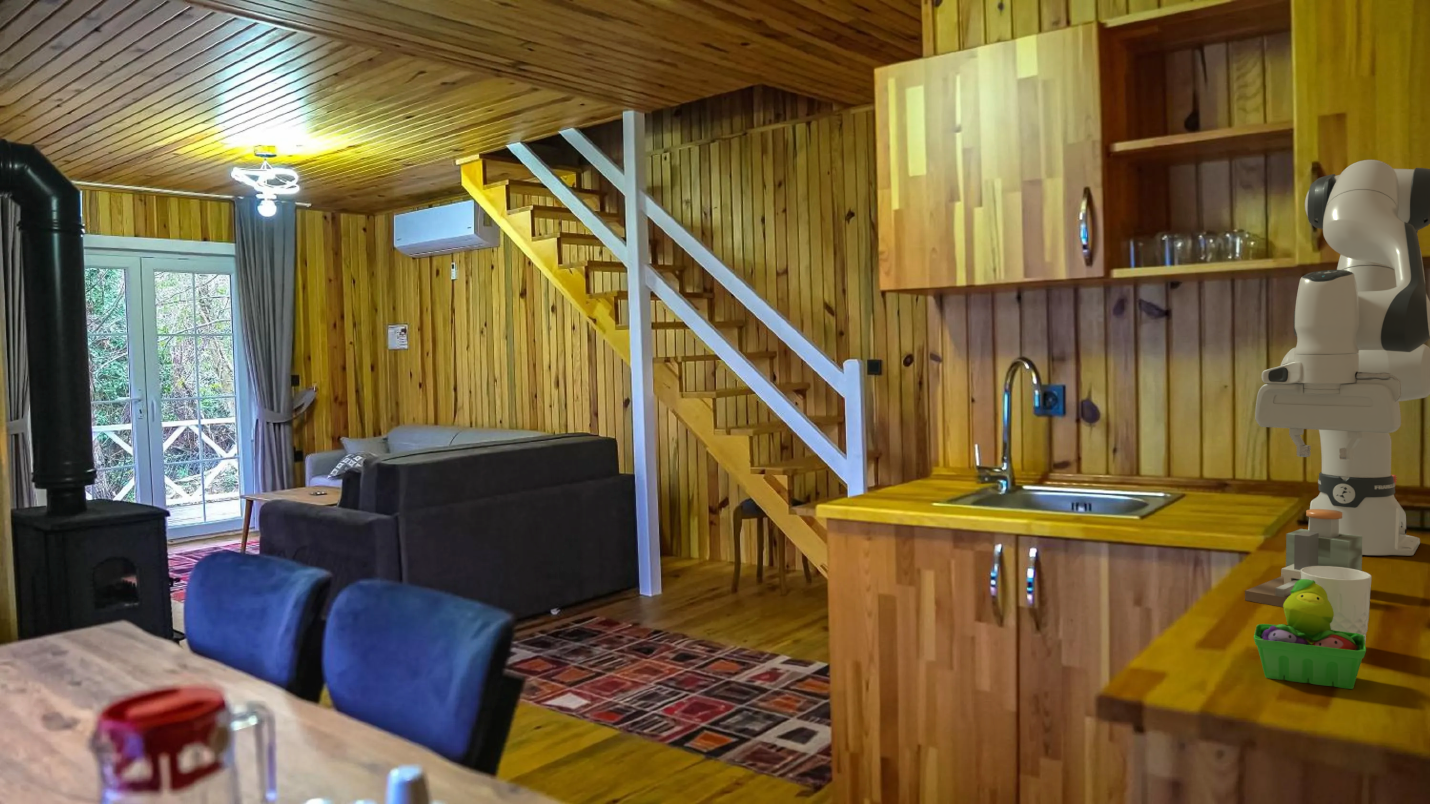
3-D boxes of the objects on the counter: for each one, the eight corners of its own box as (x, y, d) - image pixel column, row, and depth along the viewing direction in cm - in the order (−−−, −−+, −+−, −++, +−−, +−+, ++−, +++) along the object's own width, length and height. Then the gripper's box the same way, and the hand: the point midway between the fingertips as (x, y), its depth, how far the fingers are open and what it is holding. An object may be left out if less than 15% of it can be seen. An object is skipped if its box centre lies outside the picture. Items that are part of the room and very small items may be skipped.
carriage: (1296, 577, 161) (1297, 529, 161) (1330, 582, 158) (1331, 533, 157) (1281, 583, 158) (1281, 534, 157) (1315, 589, 154) (1316, 538, 153)
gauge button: (1313, 532, 165) (1313, 508, 165) (1347, 536, 161) (1347, 511, 161) (1300, 536, 162) (1301, 511, 162) (1335, 540, 158) (1335, 515, 158)
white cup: (1381, 658, 127) (1382, 580, 126) (1313, 656, 128) (1313, 579, 128) (1354, 640, 134) (1355, 566, 134) (1290, 638, 136) (1291, 565, 135)
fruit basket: (1252, 679, 120) (1253, 587, 119) (1257, 659, 128) (1258, 571, 127) (1365, 695, 114) (1367, 598, 113) (1363, 672, 122) (1365, 581, 121)
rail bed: (1297, 578, 168) (1297, 528, 167) (1365, 589, 160) (1365, 536, 160) (1245, 600, 155) (1245, 546, 155) (1315, 612, 148) (1316, 555, 147)
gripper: (1408, 371, 154) (1406, 461, 155) (1267, 370, 170) (1266, 451, 171) (1394, 373, 150) (1392, 465, 151) (1251, 372, 166) (1250, 455, 167)
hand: (1324, 457), depth 161 cm, fingers open, 5 cm apart
